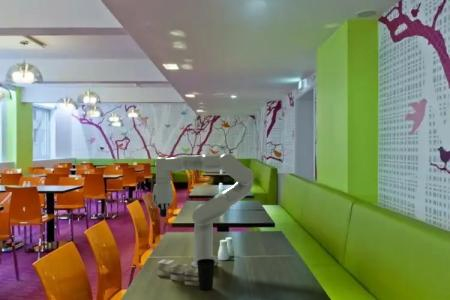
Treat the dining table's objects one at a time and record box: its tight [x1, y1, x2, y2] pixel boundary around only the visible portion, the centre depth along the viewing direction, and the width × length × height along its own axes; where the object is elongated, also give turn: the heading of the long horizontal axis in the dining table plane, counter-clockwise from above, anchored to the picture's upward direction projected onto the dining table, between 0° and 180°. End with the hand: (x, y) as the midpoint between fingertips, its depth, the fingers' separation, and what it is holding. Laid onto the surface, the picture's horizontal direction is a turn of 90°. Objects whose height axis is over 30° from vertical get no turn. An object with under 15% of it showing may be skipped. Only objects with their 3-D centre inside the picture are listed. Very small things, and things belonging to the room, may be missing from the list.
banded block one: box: [170, 262, 189, 282], centre depth 198 cm, size 6×6×6 cm
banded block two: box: [183, 267, 199, 287], centre depth 191 cm, size 6×6×6 cm
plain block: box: [156, 258, 175, 277], centre depth 204 cm, size 6×6×6 cm
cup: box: [197, 259, 216, 292], centre depth 183 cm, size 8×8×12 cm
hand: (163, 216), depth 219 cm, fingers closed
